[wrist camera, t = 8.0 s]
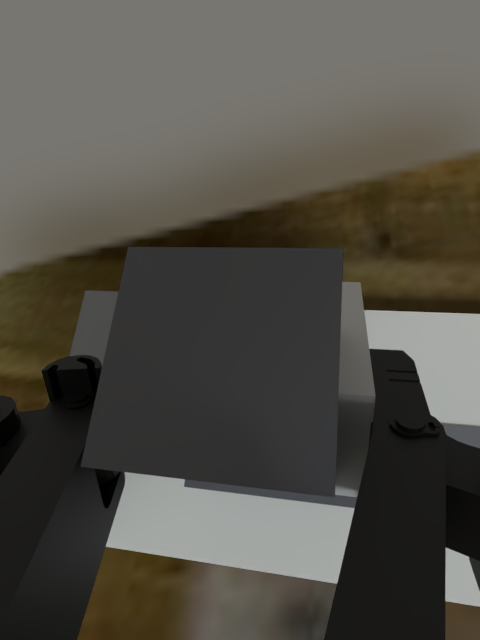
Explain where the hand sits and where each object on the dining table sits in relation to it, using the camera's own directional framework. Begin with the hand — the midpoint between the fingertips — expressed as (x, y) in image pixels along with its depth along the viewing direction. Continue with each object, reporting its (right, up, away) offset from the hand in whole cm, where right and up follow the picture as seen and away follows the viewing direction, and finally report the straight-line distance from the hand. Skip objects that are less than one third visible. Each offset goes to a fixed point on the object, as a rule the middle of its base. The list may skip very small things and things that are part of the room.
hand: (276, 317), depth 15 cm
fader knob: (0, -4, +1) cm, 4 cm away
